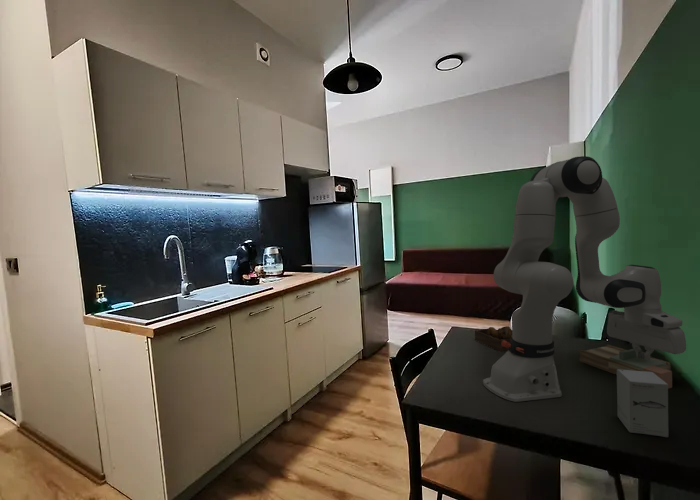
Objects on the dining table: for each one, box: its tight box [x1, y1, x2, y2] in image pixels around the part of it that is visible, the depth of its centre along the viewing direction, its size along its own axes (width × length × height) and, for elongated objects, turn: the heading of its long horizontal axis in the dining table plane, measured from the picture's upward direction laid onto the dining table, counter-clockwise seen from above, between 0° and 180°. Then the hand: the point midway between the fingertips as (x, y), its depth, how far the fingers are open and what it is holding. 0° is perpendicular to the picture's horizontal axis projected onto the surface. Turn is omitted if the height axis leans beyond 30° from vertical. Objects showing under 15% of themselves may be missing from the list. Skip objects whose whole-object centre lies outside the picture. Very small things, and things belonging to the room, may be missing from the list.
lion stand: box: [474, 327, 512, 353], centre depth 140 cm, size 8×16×4 cm, turn 16°
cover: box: [610, 348, 667, 371], centre depth 106 cm, size 10×10×3 cm
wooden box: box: [579, 343, 672, 376], centre depth 111 cm, size 14×19×4 cm
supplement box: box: [616, 369, 669, 438], centre depth 78 cm, size 7×7×13 cm
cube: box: [644, 366, 673, 390], centre depth 97 cm, size 4×4×5 cm
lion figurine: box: [487, 325, 512, 340], centre depth 139 cm, size 15×5×9 cm, turn 26°
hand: (643, 358), depth 104 cm, fingers closed
